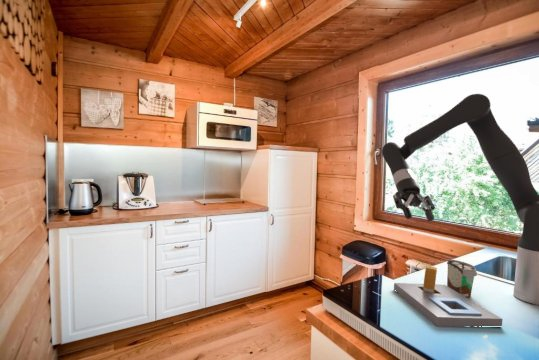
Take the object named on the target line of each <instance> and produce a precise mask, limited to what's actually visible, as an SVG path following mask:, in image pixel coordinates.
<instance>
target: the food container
mask: <svg viewBox="0 0 539 360" xmlns="http://www.w3.org/2000/svg"><path fill="white" fill-rule="evenodd" d="M446 264H447V273H446V274H447V275H446V276H447V277H446V278H447V280H446V281H447V282H446V286H448V287H449V288H451V289H453V290H455V291H456V292H458V293H460V294H461V295H463V296H465V297H466V298H468V299H470V298H471V296H472V290H473V287H474V286H473V284H474V280H475V277H477V276H478V272H477V269H476V267H475V266H474V265H472V264H471V263H468V262H464V261H460V260H456V259H451V258H448V259H447V262H446Z"/></svg>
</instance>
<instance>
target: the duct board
mask: <svg viewBox="0 0 539 360" xmlns="http://www.w3.org/2000/svg"><path fill="white" fill-rule="evenodd" d="M423 285H424V283H410V282H409V283H408V282H394V284H393V291H394V290H396V291H397V292H398V293H399V294H400V295H401V296H402V297H401V296H400V295H399V294H398V293H397V292H396V291H395V292H396V293H397V294H398V295H399V296H400V297H401V298H402V299H404V300H405V301H406V302H407V303H408V304H409V305H411V306H412V307H413V308H414V309H416V310H417V311H418V312H419V313H420V314H422V316H424V317H425V318H426V319H427V320H429V321H430V322H431V323H432V324H434V326H436V327H440V328H441V327H446V328H447V327H448V328H452V327H451V326H460V327H459V328H465V327H464V326H477V327H479V326H481V327H482V326H502V327H503V318H502V317H500V316H498V315H497V314H495V313H494V312H491V310H489V309H487V308H485V307H483V306H481V305H479V303H476V302H475V301H473V300H471V299H470V298H466V297H465V296H463V295H461V294H460V293H458V292H456V291H455V290H453V289H451V288H449V287H448V286H447V284H436V283H435V290H434V293H425V292H424V291H423ZM449 326H450V327H449ZM461 326H462V327H461Z"/></svg>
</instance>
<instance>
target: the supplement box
mask: <svg viewBox="0 0 539 360" xmlns="http://www.w3.org/2000/svg"><path fill="white" fill-rule="evenodd" d="M437 272H438V268H437V267H435V266H431V265H426V266H425V270H424V278H423V284H424V285H423V291H424V292H425V293H434V290H435V284H436V282H437V281H436V279H437Z"/></svg>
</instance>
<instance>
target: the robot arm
mask: <svg viewBox="0 0 539 360" xmlns="http://www.w3.org/2000/svg"><path fill="white" fill-rule="evenodd" d="M465 123H466V125H468V126H469V128H470V129H471V131H472V132H473V134H474V135H475V137H476V139H477V142H478V144H479V147H480V149H481V151H482V154H483V156H484V158H485V160H486V162H487V164H488V165H489V167H490V169H491V171H492V172H493V174H494V175H495V177H496V178H497V179H498V181H499V183H500V184H501V186H502V187H503V188H504V190H505V191H506V193H507V195H508V196H509V198H510V200H511V203H512V205H513V207H514V210H515V212H516V215H517V217H518V219H519V220H520V222H522V223H523V226H522V227H523V228H522V233H521V236H520V237H519V238H518V240H517V251H516V252H517V253H516V262H515V272H514V273H515V275H514V284H513V285H514V286H513V294H512V295H513V296H514V297H515V298H517V299H518V300H520V301H523V302H526V303H530V304H533V305H536V306H539V193H538V192H537V190H536V188H535V187H534V185H533V183H532V180H531V176H530V171H529V167H528V164H527V162H526V160H525V158H524V156H523V154H521V151H520V150H519V149H518V147H517V146H516V144H515V143H514V142H513V140H512V139H511V137H509V136H508V134H507V133H506V132H505V131H503V130H502V128H501V126H500V125H499V124H498V122H497V120H496V119H495V116H494V114H493V112H492V109H491V100H490V99H489V98H488V96H486V95H485V94H482V93H472V94H470V95H467V96H465V97H464V98H463V99H462V100H461V101H460V102H458V103H457V104H456V105H455V106H453V107H452V108H451V109H449V110H448V111H447V112H445V113H443V114H442V115H441V116H439V117H438V118H436V119H434V120H432V121H431V122H429V123H427V124H425V125H423V126H422V127H420V128H418V129H417V130H415V131H413V132H411V133H410V134H408V135H406V136H405V137H404V139H403V143H404V144H403V145H402V146H401V147H400V145H398V143H396V142H392V141H391V142H386V143H385V144H384V145H383V146H382V149H381V154H382V157H383V159H384V160H385V163H386V165H387V166H388V167H389V169H390V173H391V176H392V179H393V183H394V185H395V188H396V190H397V191H396V192H395V194H393V196H392V197H393V201H394V203H395V204H394V205H395V207H396V209H400V210H401V211H403V212H402V213H403V215H404V217H405V218H406V220H411V218H412V217H413V214H412V211H411V210H410V207H416V208H418V210H421V211H423V212H424V215H425V217H426V219H427V222H430V223H431V222H432V221H434V220H435V216H434V214H433V211H434V210H435V209H436V206H435V204H434V203H433V200H432V199H431V197H430V195H426V196H423V195H422V194H421V188H420V186H419V184H418V181H417V179H416V176H415V174H414V173H413V172H412V170H411V168H410V165H409V164H408V162H407V159H408V158H410V157H411V156H412V155H413V154H414V153H415V152H416V151H417V150H419V149H422V148H423V147H425V146H426V145H429V144H430V143H432V142H434V141H436V140H437V139H438V138H440V137H441V136H443V135H444V134H446V133H448V132H449V131H451V130H452V129H454V128H456V127H458V126H461V125H463V124H465Z"/></svg>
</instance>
